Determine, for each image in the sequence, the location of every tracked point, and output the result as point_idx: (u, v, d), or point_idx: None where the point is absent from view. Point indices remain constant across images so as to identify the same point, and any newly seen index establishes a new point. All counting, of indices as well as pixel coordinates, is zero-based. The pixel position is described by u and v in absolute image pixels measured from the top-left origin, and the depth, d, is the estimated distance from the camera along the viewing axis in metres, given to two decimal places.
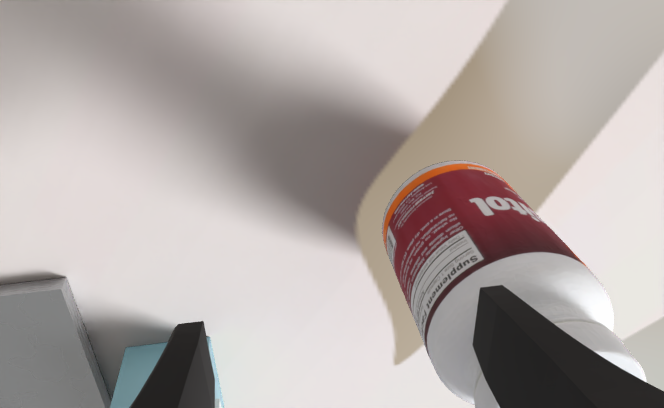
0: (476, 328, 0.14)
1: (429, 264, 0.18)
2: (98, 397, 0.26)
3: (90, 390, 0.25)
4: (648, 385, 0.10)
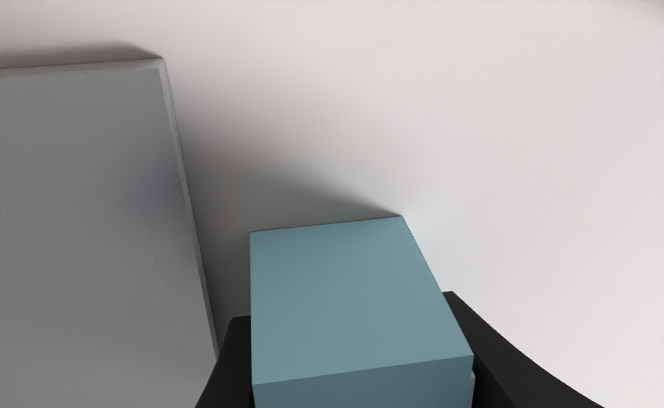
0: None
1: None
2: (204, 326, 0.14)
3: (191, 310, 0.13)
4: (580, 395, 0.10)
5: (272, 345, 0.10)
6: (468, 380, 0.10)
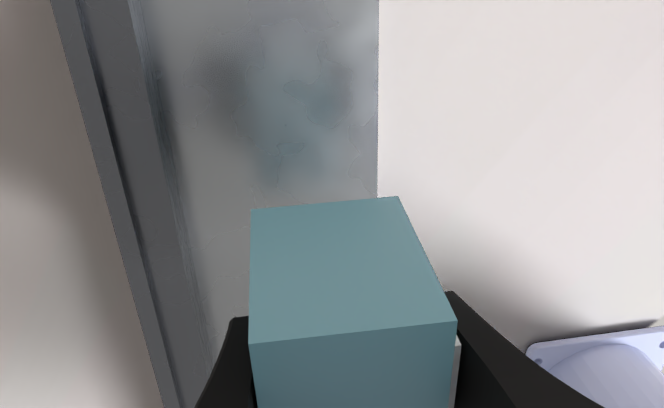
0: None
1: None
2: (374, 160, 0.20)
3: (367, 146, 0.20)
4: (580, 395, 0.10)
5: (268, 309, 0.11)
6: (453, 345, 0.10)
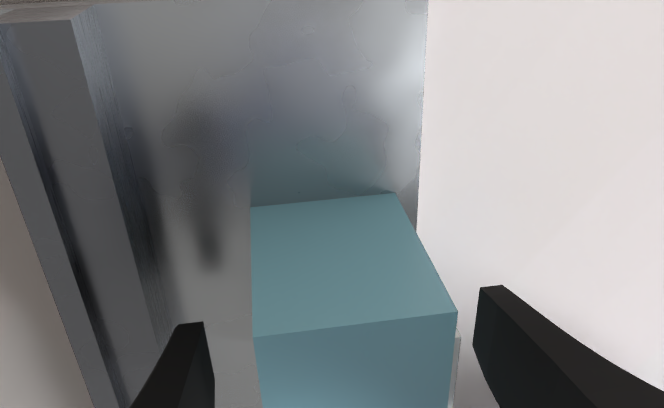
0: (476, 328, 0.14)
1: None
2: None
3: None
4: (648, 385, 0.10)
5: (271, 303, 0.11)
6: (453, 336, 0.11)
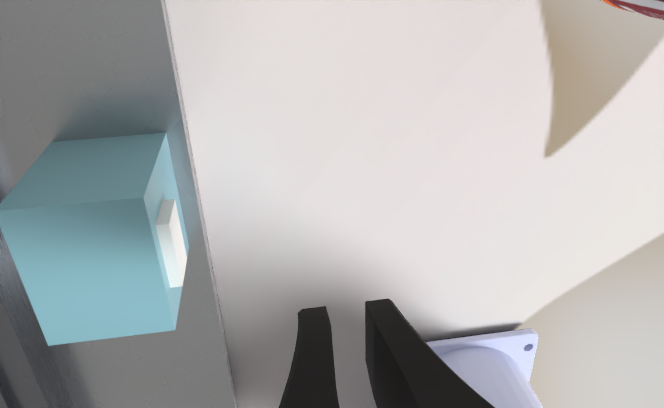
0: (366, 342, 0.14)
1: None
2: (187, 165, 0.20)
3: (178, 152, 0.20)
4: None
5: (20, 194, 0.15)
6: (146, 217, 0.15)
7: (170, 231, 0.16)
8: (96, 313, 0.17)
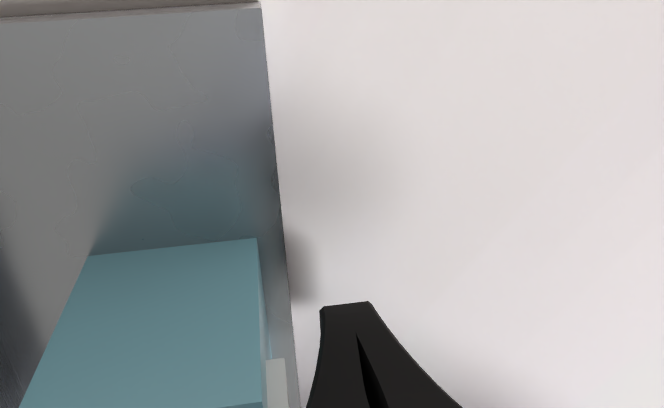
0: None
1: None
2: (283, 279, 0.14)
3: (271, 263, 0.13)
4: None
5: (49, 388, 0.09)
6: None
7: None
8: None
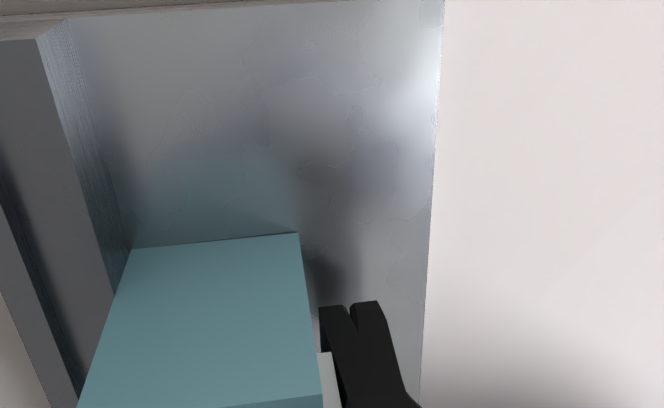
0: None
1: None
2: (423, 262, 0.14)
3: (415, 246, 0.14)
4: None
5: (107, 380, 0.09)
6: None
7: None
8: None
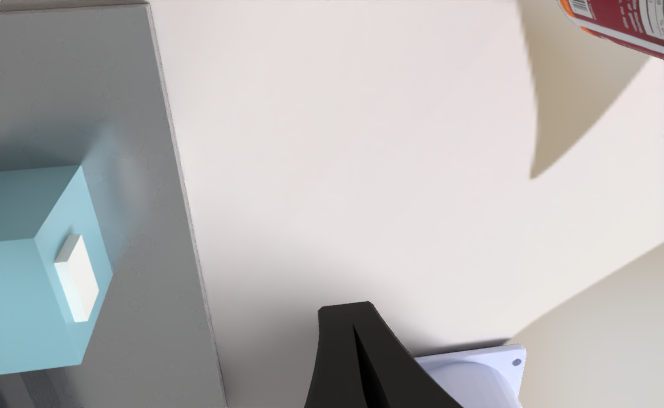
0: None
1: None
2: (178, 190, 0.20)
3: (169, 177, 0.20)
4: None
5: None
6: (39, 256, 0.15)
7: (69, 268, 0.16)
8: None
